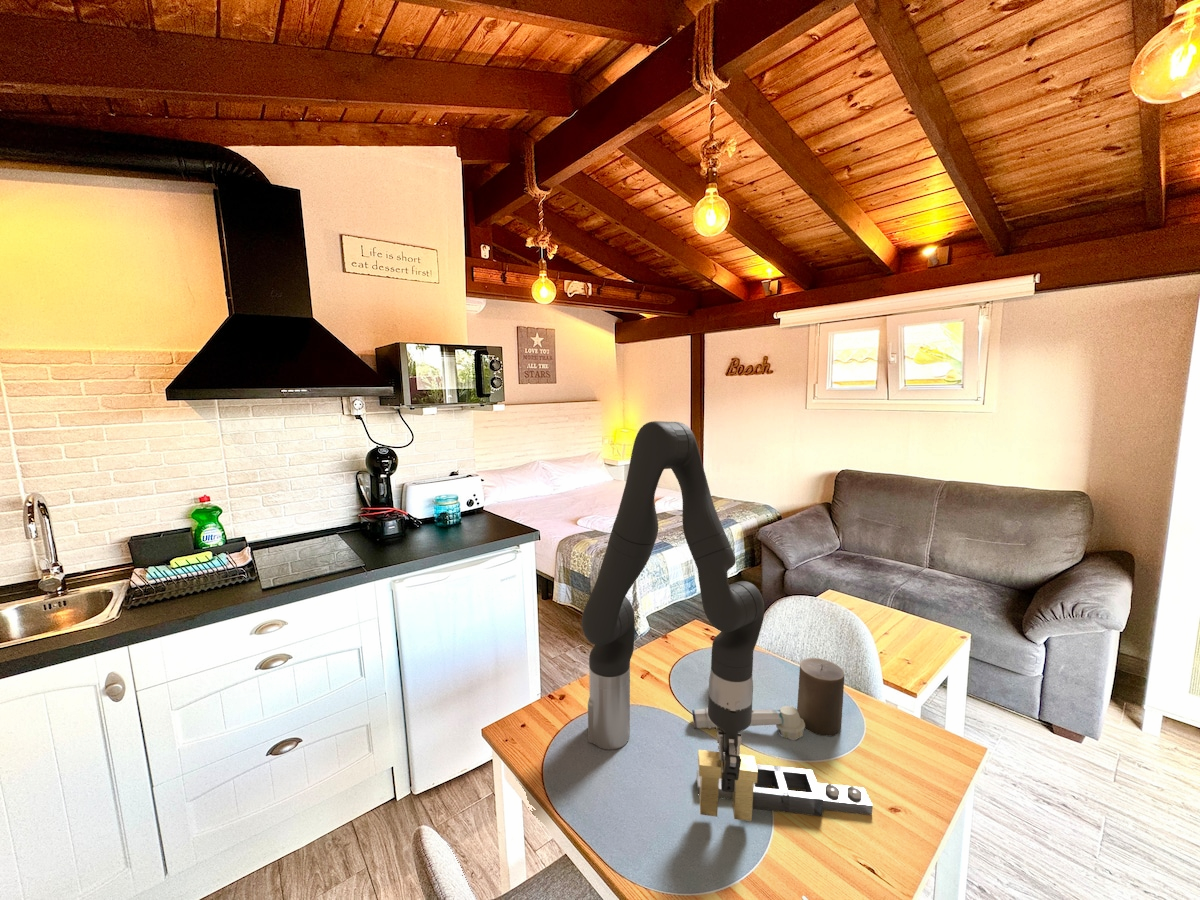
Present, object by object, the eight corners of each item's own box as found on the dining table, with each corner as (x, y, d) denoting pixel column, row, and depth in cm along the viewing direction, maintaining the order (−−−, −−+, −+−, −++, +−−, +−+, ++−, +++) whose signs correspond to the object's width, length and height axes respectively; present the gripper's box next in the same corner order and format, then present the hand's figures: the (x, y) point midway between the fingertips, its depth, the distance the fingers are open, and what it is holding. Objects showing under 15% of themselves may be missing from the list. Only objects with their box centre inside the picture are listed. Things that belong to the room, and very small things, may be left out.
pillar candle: (836, 743, 106) (840, 680, 104) (791, 724, 112) (794, 665, 110) (844, 719, 114) (849, 661, 112) (802, 703, 120) (805, 647, 118)
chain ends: (698, 802, 91) (698, 786, 91) (696, 773, 98) (696, 758, 98) (875, 822, 87) (876, 805, 86) (860, 790, 94) (861, 774, 93)
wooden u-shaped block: (697, 815, 86) (699, 764, 84) (696, 798, 89) (698, 749, 88) (754, 823, 84) (757, 771, 83) (751, 805, 88) (754, 756, 86)
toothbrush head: (691, 703, 114) (799, 698, 111) (694, 728, 115) (801, 724, 111) (692, 718, 109) (805, 713, 106) (696, 744, 110) (808, 740, 106)
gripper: (705, 668, 91) (702, 749, 93) (712, 719, 77) (708, 812, 80) (745, 671, 90) (741, 753, 92) (759, 724, 76) (754, 818, 78)
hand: (726, 780), depth 86 cm, fingers closed on wooden u-shaped block, 3 cm apart
